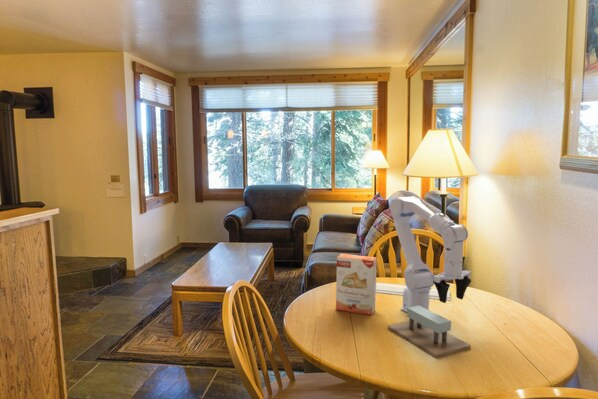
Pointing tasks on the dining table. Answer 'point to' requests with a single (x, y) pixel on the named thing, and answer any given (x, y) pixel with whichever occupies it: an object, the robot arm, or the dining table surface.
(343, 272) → the cracker box
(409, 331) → the brown slab
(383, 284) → the baseboard molding
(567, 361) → the dining table surface
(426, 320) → the pale grey block
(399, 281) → the dining table surface
